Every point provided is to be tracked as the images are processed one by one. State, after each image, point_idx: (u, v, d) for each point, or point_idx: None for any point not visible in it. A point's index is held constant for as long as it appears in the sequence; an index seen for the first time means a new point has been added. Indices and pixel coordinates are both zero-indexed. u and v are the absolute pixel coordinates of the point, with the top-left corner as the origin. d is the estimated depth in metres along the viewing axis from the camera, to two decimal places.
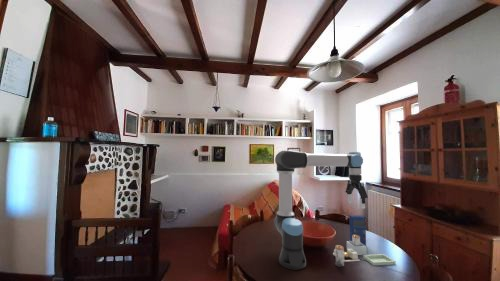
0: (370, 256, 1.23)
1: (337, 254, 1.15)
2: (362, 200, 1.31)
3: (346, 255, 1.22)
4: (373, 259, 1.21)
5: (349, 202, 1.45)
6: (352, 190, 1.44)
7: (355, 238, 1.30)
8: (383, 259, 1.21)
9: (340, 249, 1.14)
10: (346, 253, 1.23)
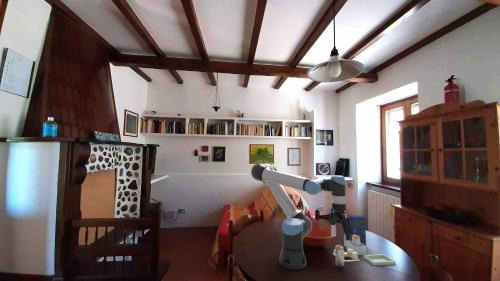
0: (370, 256, 1.23)
1: (337, 254, 1.15)
2: (346, 236, 1.09)
3: (346, 255, 1.22)
4: (373, 259, 1.21)
5: (332, 234, 1.23)
6: (336, 220, 1.22)
7: (355, 238, 1.30)
8: (383, 259, 1.21)
9: (340, 249, 1.14)
10: (346, 253, 1.23)
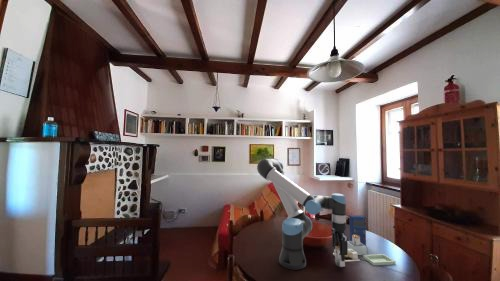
0: (370, 256, 1.23)
1: (337, 254, 1.15)
2: (341, 257, 1.13)
3: (346, 255, 1.22)
4: (373, 259, 1.21)
5: None
6: (339, 243, 1.18)
7: (355, 238, 1.30)
8: (383, 259, 1.21)
9: None
10: None
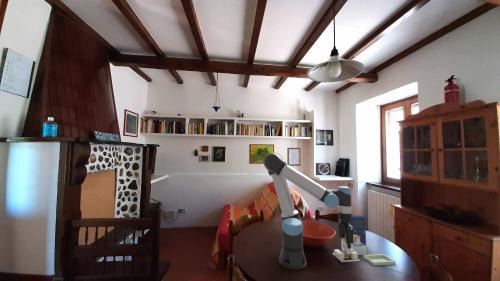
0: (370, 256, 1.23)
1: (344, 245, 1.23)
2: (348, 245, 1.21)
3: (346, 257, 1.22)
4: (373, 259, 1.21)
5: None
6: (345, 232, 1.27)
7: (355, 238, 1.30)
8: (383, 259, 1.21)
9: None
10: None
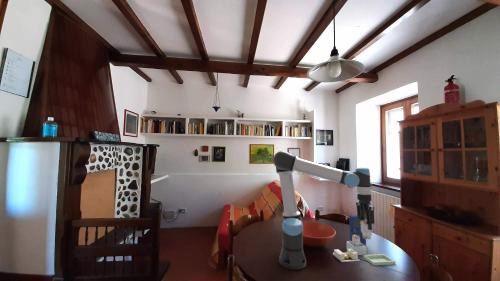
0: (370, 256, 1.23)
1: (364, 227, 1.21)
2: (368, 226, 1.18)
3: (346, 257, 1.22)
4: (373, 259, 1.21)
5: None
6: (364, 214, 1.24)
7: (355, 238, 1.30)
8: (383, 259, 1.21)
9: None
10: (346, 255, 1.23)
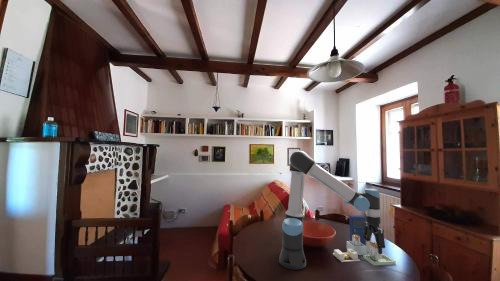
0: None
1: (372, 250, 1.18)
2: (379, 250, 1.15)
3: (346, 257, 1.22)
4: None
5: (368, 251, 1.23)
6: (371, 235, 1.23)
7: (355, 238, 1.30)
8: (383, 259, 1.21)
9: (375, 246, 1.18)
10: (346, 255, 1.23)
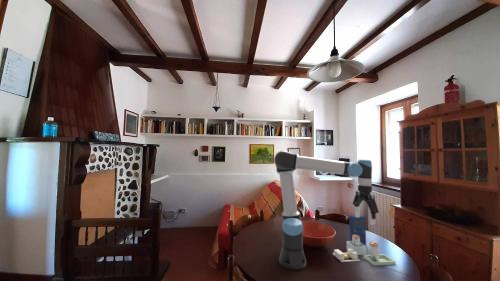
0: None
1: (372, 250, 1.18)
2: (372, 215, 1.16)
3: (346, 257, 1.22)
4: None
5: (356, 215, 1.30)
6: (360, 202, 1.29)
7: (355, 238, 1.30)
8: (383, 259, 1.21)
9: (375, 246, 1.18)
10: (346, 255, 1.23)
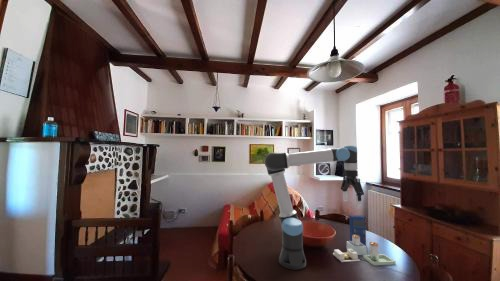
0: None
1: (372, 250, 1.18)
2: (358, 197, 1.21)
3: (346, 257, 1.22)
4: None
5: (344, 200, 1.35)
6: None
7: (355, 238, 1.30)
8: (383, 259, 1.21)
9: (375, 245, 1.18)
10: (346, 255, 1.23)
